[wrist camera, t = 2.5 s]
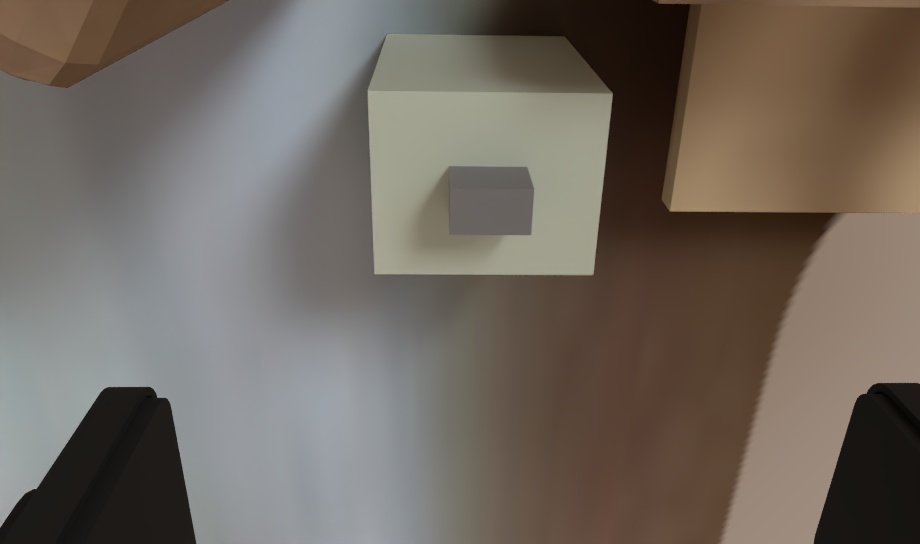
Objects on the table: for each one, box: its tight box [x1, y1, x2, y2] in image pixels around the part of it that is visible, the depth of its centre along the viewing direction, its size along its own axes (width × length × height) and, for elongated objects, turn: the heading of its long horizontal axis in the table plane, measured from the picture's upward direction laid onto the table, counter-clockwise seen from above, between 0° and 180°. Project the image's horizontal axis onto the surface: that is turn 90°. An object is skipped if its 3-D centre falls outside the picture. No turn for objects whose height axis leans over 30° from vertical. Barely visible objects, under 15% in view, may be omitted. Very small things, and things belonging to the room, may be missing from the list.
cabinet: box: [368, 34, 613, 275], centre depth 23 cm, size 6×5×10 cm
